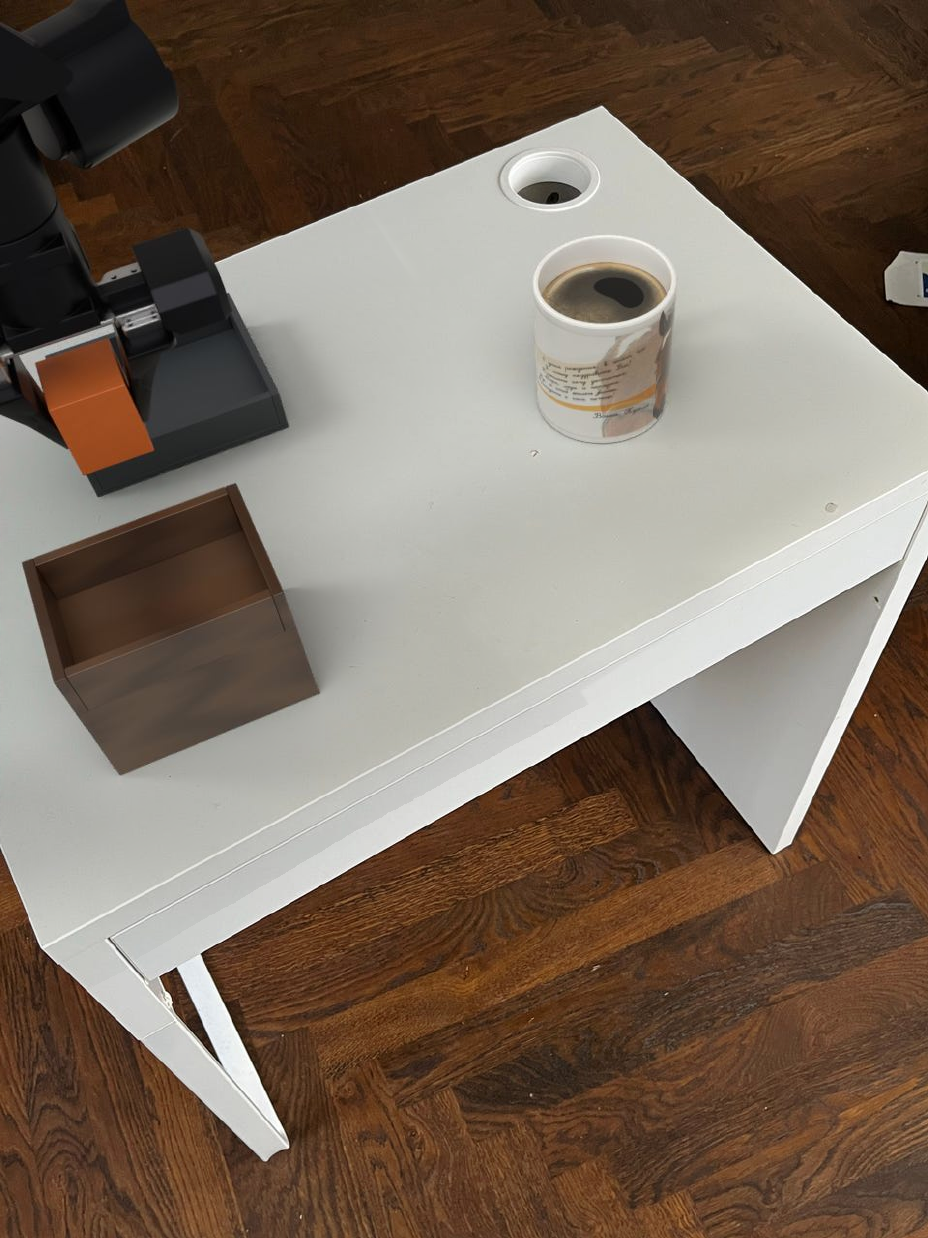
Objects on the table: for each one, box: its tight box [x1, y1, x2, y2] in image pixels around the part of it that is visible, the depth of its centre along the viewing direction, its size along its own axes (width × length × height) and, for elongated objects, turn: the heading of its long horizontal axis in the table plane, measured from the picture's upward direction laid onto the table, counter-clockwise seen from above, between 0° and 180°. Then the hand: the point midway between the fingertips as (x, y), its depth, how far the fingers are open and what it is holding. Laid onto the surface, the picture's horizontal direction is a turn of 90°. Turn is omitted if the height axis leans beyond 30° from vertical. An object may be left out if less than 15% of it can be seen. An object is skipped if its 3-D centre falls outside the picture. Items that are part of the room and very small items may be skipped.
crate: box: [21, 482, 320, 776], centre depth 71 cm, size 13×9×11 cm
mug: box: [531, 234, 678, 444], centre depth 83 cm, size 10×12×11 cm
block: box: [34, 338, 154, 476], centre depth 69 cm, size 4×4×6 cm
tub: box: [44, 292, 290, 498], centre depth 89 cm, size 15×13×4 cm
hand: (107, 430), depth 70 cm, fingers closed on block, 4 cm apart
